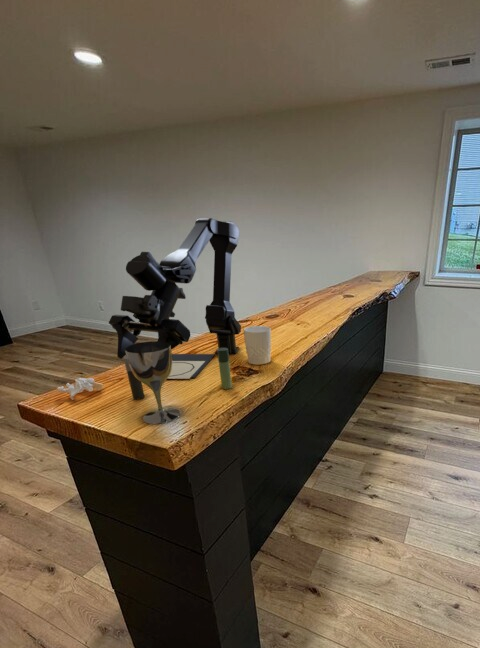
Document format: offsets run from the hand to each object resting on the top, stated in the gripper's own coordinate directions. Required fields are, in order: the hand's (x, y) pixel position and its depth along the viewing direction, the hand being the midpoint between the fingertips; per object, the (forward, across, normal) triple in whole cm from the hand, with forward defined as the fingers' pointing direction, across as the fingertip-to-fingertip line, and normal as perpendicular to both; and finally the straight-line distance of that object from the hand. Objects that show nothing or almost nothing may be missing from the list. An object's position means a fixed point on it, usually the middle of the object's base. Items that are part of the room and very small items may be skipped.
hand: (135, 360), depth 79 cm
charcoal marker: (+7, 0, +5) cm, 9 cm away
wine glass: (+11, +11, +1) cm, 16 cm away
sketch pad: (-8, -6, +20) cm, 23 cm away
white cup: (-16, +15, +28) cm, 35 cm away
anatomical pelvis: (+9, -14, +4) cm, 17 cm away
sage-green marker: (-1, +16, +14) cm, 21 cm away
